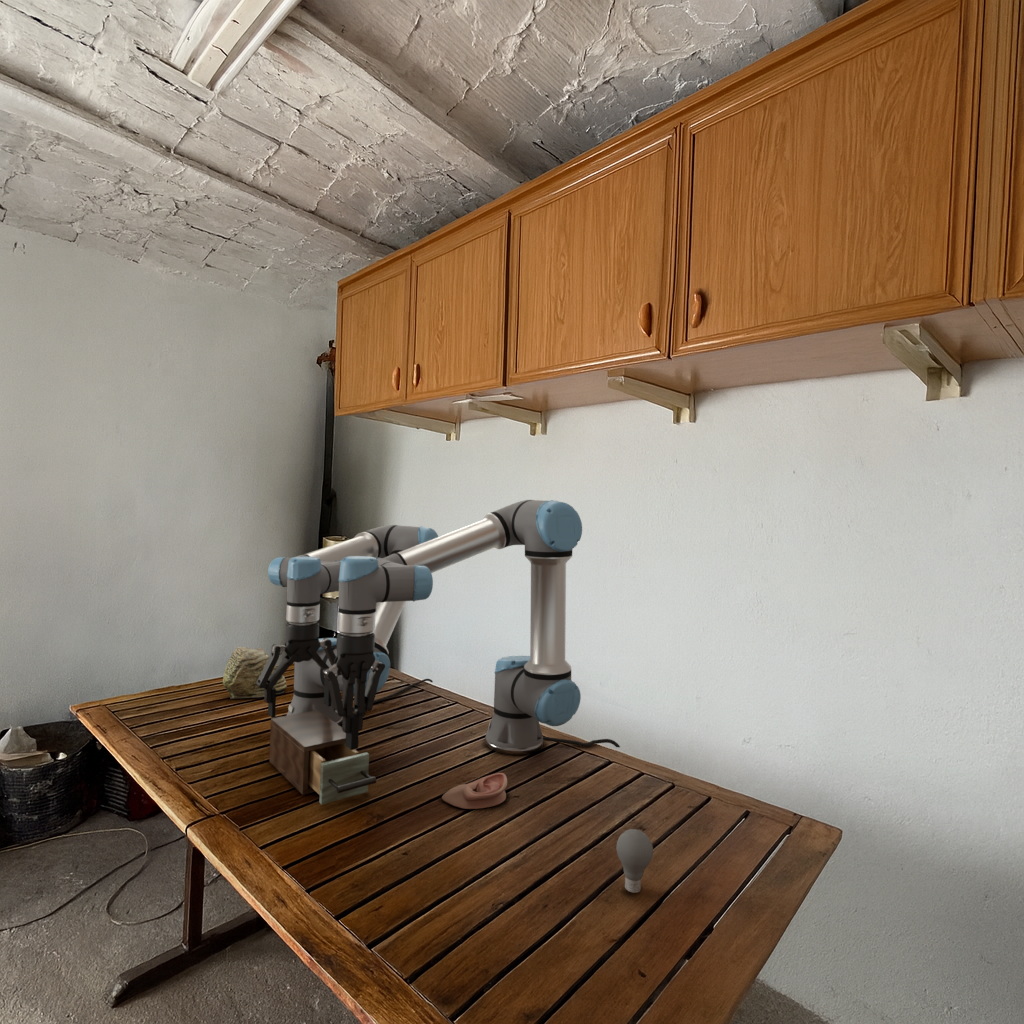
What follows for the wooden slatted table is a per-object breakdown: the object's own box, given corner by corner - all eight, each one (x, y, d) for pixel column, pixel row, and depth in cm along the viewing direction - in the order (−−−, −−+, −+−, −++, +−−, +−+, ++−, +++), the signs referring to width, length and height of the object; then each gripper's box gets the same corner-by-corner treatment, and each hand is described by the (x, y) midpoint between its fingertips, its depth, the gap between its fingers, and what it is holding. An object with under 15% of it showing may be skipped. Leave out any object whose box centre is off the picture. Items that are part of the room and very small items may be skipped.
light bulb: (610, 879, 108) (613, 822, 108) (644, 879, 109) (647, 822, 109) (619, 902, 102) (622, 840, 102) (655, 901, 103) (658, 840, 103)
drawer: (380, 802, 131) (381, 762, 130) (332, 816, 124) (334, 774, 124) (330, 760, 150) (331, 726, 149) (286, 771, 143) (288, 735, 143)
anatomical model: (437, 786, 132) (453, 764, 143) (436, 805, 132) (453, 781, 143) (499, 795, 129) (511, 771, 140) (499, 814, 129) (510, 789, 141)
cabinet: (352, 781, 142) (354, 736, 141) (302, 795, 134) (304, 747, 134) (315, 750, 157) (317, 709, 157) (269, 761, 150) (270, 718, 150)
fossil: (218, 695, 195) (220, 647, 195) (278, 685, 208) (279, 640, 207) (228, 703, 189) (230, 653, 188) (289, 692, 201) (290, 645, 201)
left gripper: (254, 630, 140) (251, 725, 141) (358, 619, 156) (355, 704, 157) (243, 624, 146) (241, 715, 146) (345, 614, 162) (342, 696, 162)
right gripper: (333, 639, 122) (328, 760, 122) (393, 632, 130) (389, 746, 131) (317, 632, 128) (313, 747, 128) (376, 626, 136) (372, 734, 137)
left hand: (300, 710), depth 152 cm, fingers open, 13 cm apart
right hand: (351, 747), depth 130 cm, fingers closed
